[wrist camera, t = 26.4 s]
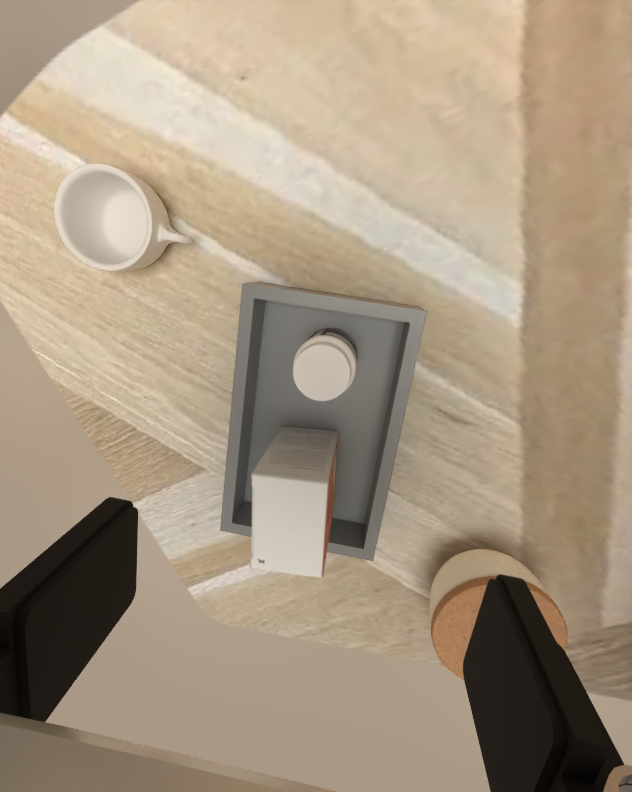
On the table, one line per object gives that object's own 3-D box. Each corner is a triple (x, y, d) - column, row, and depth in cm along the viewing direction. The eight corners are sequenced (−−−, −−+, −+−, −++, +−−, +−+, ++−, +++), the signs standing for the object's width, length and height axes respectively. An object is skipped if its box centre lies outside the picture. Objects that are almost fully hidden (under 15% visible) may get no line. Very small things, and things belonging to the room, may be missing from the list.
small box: (334, 507, 41) (323, 581, 31) (277, 500, 42) (248, 571, 31) (340, 429, 39) (330, 483, 29) (280, 423, 39) (250, 474, 29)
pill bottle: (313, 387, 38) (299, 415, 30) (296, 336, 37) (277, 351, 29) (364, 372, 37) (364, 397, 29) (349, 320, 36) (343, 330, 28)
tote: (418, 306, 36) (426, 311, 31) (372, 528, 42) (372, 561, 37) (258, 282, 37) (242, 282, 32) (236, 502, 43) (220, 530, 38)
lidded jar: (433, 519, 41) (451, 586, 32) (546, 540, 40) (597, 615, 31) (411, 608, 44) (422, 692, 35) (516, 629, 43) (554, 720, 34)
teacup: (93, 260, 38) (50, 257, 33) (101, 168, 36) (57, 150, 31) (198, 288, 38) (171, 290, 33) (213, 197, 36) (186, 183, 30)
